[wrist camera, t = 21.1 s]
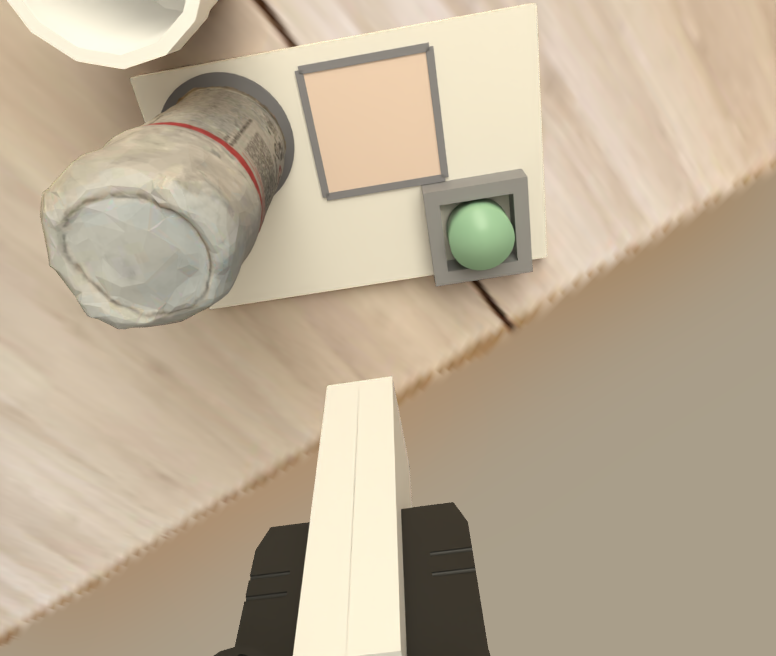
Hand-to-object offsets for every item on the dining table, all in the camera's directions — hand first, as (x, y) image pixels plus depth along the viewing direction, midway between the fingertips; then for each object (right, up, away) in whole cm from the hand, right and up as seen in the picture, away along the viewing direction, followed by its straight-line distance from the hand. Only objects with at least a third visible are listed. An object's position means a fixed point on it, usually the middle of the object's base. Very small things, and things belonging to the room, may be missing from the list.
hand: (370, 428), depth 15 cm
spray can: (-10, +15, +27) cm, 33 cm away
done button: (+7, +10, +30) cm, 32 cm away
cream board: (-2, +14, +30) cm, 33 cm away
